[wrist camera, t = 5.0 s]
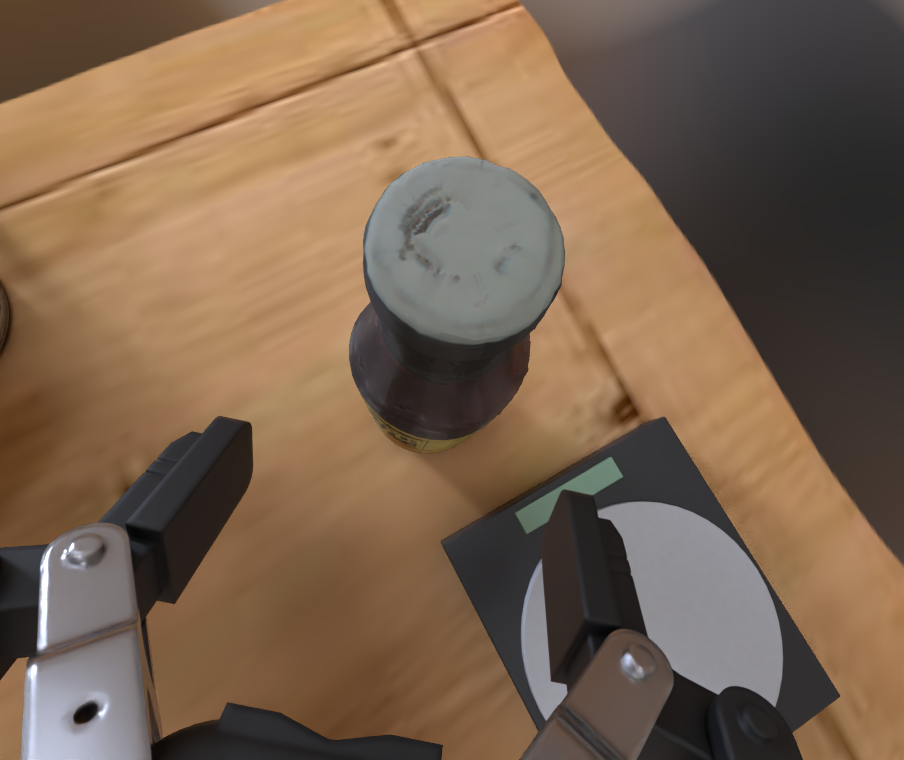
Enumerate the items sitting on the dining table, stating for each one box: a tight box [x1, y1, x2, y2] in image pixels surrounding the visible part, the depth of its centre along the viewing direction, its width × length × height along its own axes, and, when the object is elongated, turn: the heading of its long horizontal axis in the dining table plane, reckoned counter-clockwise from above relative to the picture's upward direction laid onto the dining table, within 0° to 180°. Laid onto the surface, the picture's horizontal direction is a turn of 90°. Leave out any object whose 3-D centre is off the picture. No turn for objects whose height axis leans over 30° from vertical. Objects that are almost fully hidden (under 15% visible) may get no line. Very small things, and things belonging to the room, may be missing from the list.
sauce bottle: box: [349, 157, 565, 453], centre depth 19 cm, size 7×6×20 cm
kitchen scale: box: [441, 417, 840, 732], centre depth 26 cm, size 16×14×3 cm
